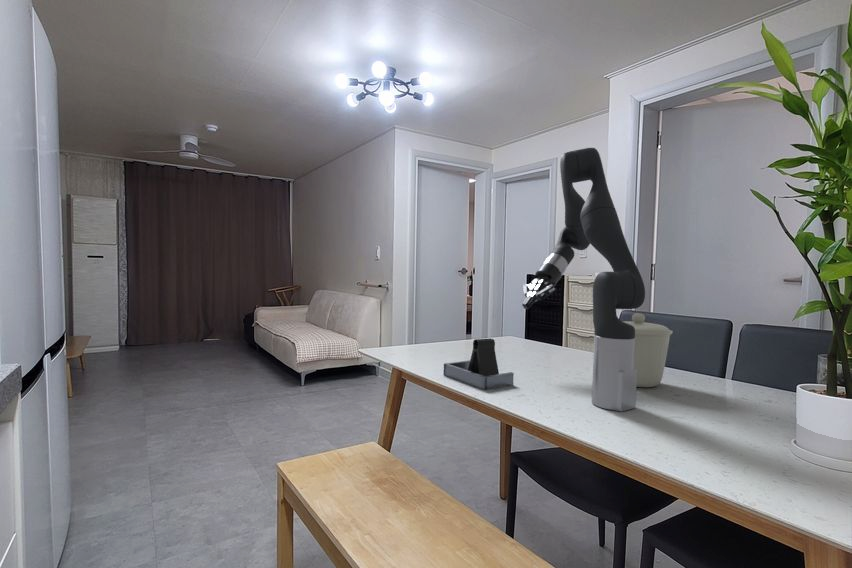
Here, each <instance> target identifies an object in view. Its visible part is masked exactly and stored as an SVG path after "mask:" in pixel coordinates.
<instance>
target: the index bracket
mask: <svg viewBox="0 0 852 568" xmlns="http://www.w3.org/2000/svg"><path fill="white" fill-rule="evenodd" d="M469 363H470V359H469V360H463V361H461V360H460V361H455V362H446V363H443V376H445V377H448V378H451V379H453V378H454V379H453V380H456V379H457V380H456V381H459V382H462V383H464V384H466V385H469V386H472V387H474V386H475V388H478V389H480V390H483V391H487V390H488V391H489V390H492V389H493V390H494V389H498V388H503V387H504V386H505V387H509V386H508V385H510V386H513V385H514V377H515V376H514V374H515V373H514V372H504V373H499V374H496V375H490V376H483V375H480V374H477V373H474V372H471V371H468V367H469Z"/></svg>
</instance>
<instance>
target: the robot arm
mask: <svg viewBox="0 0 852 568" xmlns="http://www.w3.org/2000/svg"><path fill="white" fill-rule="evenodd" d="M559 164H560V165H559V166H560V167H559V168H560V171H559V172H560V177H561V178H560V179H561V189H562V194H563V195H562V197H563V200H564V201H563V202H564V225H565V226H564V227H563V228H562V229H561V231H560V233H559V236H558V240H557V243H556V245H555V247H554V248H553V250H552V251H551V252H550V254H549V255H548V256H547V257H546V258H545V260H544V261H543V263H542V264H541V265H540V267H539V268H538V269H537V271H536V272H535V276H534V279H532V280H531V282H530V283H528V284H527V283H524V284H523V285H522V287H523V288H522V289H523V295H524V296H525V299H524V301H523V302H522V305H521V306H522V307H523V309H525V310H530V309H531V308H532V306H533V304H535V302H537V301H542V300H544V299H546V298H547V297H549V296H551V295H552V294H554V293H555V292H557V291H556V288H555V286H556V285H557V283H558V282H559V281H560V280H561V278H562V276H563V275H564V274H565V272H566V270H567V268H568V267H569V265H570V263H571V262H572V261H573V259H574V258H575V250H578V251H585V250H586V249H587V248H588V247H590V245H591V246H592V247H593V248H594V249H595V250H596V251H597V252H598V253H599V254H600V255H601V256H602V257H604V259H606V261H607V262H608V264H609V265H610V267H611V269H612V270H613V271H601V272H599V273H598V274H597V275H596V276H595V278H594V281H593V284H592V321H593V322H592V323H593V328H594V333H593V334H594V340H593V358H592V359H593V362H592V383H591V384H592V385H591V386H592V387H591V389H592V390H591V403H592V404H593V405H594V406H596V407H598V408H603V409H605V410H612V411H618V412H626V411H628V410H632V409H636V407H637V388H638V387H637V370H636V369H633V368H634V346H635V328H634V327H633V326H632V325H630V324H627V323H625V322H623V321H622V320H621V319H620V318H619V317H618V315H617V310H635V309H638V308H640V307H642V305H643V303H644V302H645V299H646V287H645V284H644V280H643V277H642V275H641V273H640V270H639V268H638V266H637V264H636V262H635V260H634V258H633V256H632V253H631V251H630V248H629V247H628V243H627V241H626V238H625V235H624V231H623V229H622V226H621V222H620V219H619V216H618V213H617V208H616V207H615V205H614V202H613V199H612V197H611V193H610V191H609V188H608V184H607V179H606V175H605V171H604V170H605V169H604V167H603V161H602V157H601V155H600V153H599V151H598V149H597V148H596V147H585V148H580V149H575V150H571V151H567V152H566V151H565V152H564V153H563V154H562V155H561V157H560V163H559ZM587 181H591V182H592V185H591V188H590V192H589V193H588V196H587V198H586V200H585V199H584V198H583V197H582V196H581V195H580V193H579V192H578V191H576V189H575V188H574V183H579V182H580V183H581V182H587Z"/></svg>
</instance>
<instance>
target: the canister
mask: <svg viewBox="0 0 852 568" xmlns="http://www.w3.org/2000/svg"><path fill="white" fill-rule="evenodd" d="M645 320H646V317H645V315H644V314H643V313H641V312H639V313H637V312H636V313H634V314H632V316H631V321H624V320H623V321H622V322H625V323H627V324H630V325H632V326H633V327H634V328H635V346H634V368H633V369H636V370H637V387H636V388H653V387H654V388H655V387H656V386H659V384H661V382H662V380H663V377H664V372H665V368H666V367H665V366H666V362H667V357H668V350H669V345H670V344H669V343H670V337H671V335H672V334H673V330H670V328H668V327H667V326H665V325H662V324H658V323H650V322H645Z"/></svg>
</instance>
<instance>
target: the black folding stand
mask: <svg viewBox="0 0 852 568" xmlns="http://www.w3.org/2000/svg"><path fill="white" fill-rule="evenodd" d="M495 348H496V341H495V340H494V338H481V339H480V338H478V339H474V340H473V342H472V353H471V356H470V359H469V360H470V363H469V367H468V371H471V372H474V373H477V374H480V375H483V376H490V375H496V374H500V373H499V365H498V360H497V354H496V349H495Z"/></svg>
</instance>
